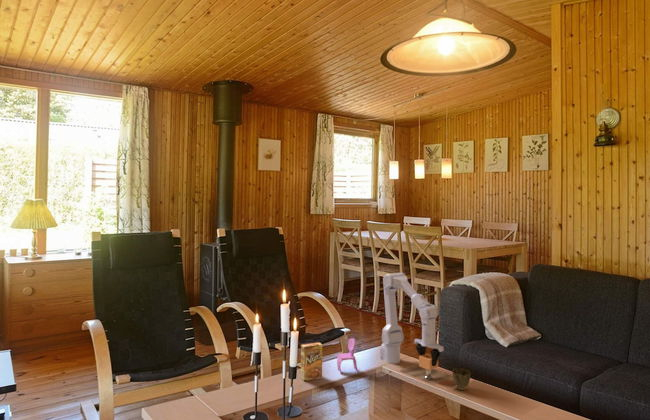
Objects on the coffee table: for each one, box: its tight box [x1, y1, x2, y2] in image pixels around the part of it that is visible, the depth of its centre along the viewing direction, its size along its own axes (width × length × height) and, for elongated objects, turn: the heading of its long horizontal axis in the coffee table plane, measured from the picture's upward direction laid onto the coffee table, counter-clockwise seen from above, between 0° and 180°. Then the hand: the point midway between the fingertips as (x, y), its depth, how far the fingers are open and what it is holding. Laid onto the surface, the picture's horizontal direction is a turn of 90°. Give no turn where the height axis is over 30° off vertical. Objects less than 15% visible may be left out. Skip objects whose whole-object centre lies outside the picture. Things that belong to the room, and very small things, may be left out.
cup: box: [451, 367, 472, 392], centre depth 195 cm, size 8×7×8 cm
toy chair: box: [336, 337, 359, 374], centre depth 215 cm, size 8×9×15 cm
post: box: [424, 369, 432, 379], centre depth 205 cm, size 3×3×6 cm
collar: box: [418, 352, 439, 370], centre depth 205 cm, size 6×6×4 cm
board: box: [397, 363, 453, 385], centre depth 210 cm, size 20×14×1 cm
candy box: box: [300, 341, 323, 381], centre depth 206 cm, size 9×4×15 cm, turn 113°
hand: (428, 363), depth 205 cm, fingers closed on collar, 6 cm apart
